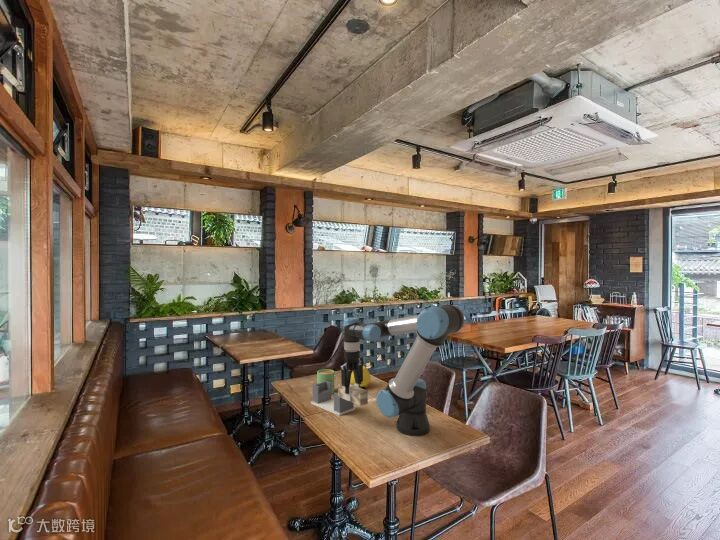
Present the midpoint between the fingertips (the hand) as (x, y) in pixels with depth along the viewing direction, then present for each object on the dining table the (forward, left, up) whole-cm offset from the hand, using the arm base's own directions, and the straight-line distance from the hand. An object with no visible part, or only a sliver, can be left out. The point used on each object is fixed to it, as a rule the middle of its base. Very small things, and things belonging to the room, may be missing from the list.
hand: (352, 398), depth 181 cm
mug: (+41, -18, -11) cm, 46 cm away
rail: (0, 0, -1) cm, 1 cm away
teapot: (+37, -38, -11) cm, 54 cm away
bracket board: (+21, -5, -11) cm, 24 cm away
